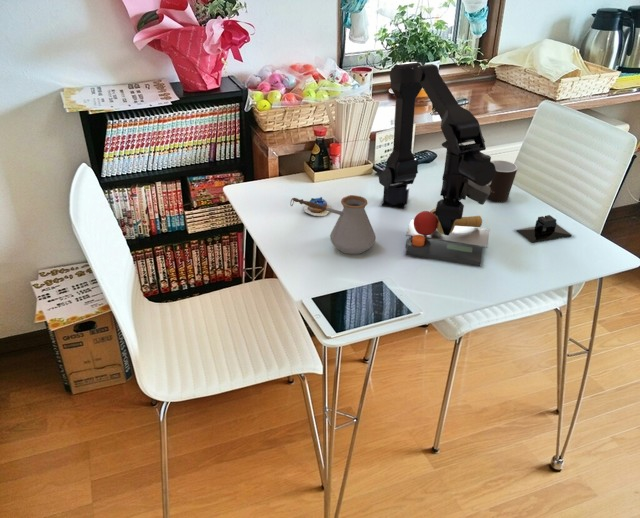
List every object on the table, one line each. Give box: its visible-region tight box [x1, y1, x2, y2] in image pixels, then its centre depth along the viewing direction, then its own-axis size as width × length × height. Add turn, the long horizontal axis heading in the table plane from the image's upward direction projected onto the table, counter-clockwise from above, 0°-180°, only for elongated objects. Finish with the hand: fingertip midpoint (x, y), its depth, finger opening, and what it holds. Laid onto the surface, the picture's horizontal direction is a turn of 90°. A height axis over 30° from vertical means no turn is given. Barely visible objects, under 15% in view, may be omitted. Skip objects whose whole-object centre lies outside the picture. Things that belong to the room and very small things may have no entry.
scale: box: [404, 237, 484, 267], centre depth 149 cm, size 18×15×3 cm
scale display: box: [446, 244, 472, 253], centre depth 144 cm, size 6×2×1 cm, turn 73°
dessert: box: [303, 196, 331, 217], centre depth 167 cm, size 8×7×6 cm
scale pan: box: [405, 218, 490, 248], centre depth 150 cm, size 20×9×1 cm, turn 73°
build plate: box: [516, 214, 573, 244], centre depth 155 cm, size 12×7×5 cm, turn 109°
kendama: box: [413, 208, 483, 235], centre depth 149 cm, size 8×6×18 cm
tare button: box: [412, 235, 425, 246], centre depth 146 cm, size 3×3×2 cm
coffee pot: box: [289, 194, 377, 255], centre depth 145 cm, size 21×12×15 cm, turn 101°
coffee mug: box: [486, 159, 519, 203], centre depth 173 cm, size 12×9×10 cm
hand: (448, 227), depth 149 cm, fingers closed on kendama, 8 cm apart
